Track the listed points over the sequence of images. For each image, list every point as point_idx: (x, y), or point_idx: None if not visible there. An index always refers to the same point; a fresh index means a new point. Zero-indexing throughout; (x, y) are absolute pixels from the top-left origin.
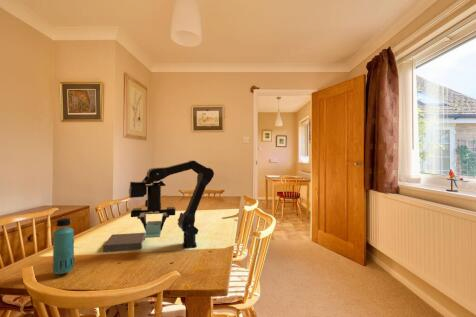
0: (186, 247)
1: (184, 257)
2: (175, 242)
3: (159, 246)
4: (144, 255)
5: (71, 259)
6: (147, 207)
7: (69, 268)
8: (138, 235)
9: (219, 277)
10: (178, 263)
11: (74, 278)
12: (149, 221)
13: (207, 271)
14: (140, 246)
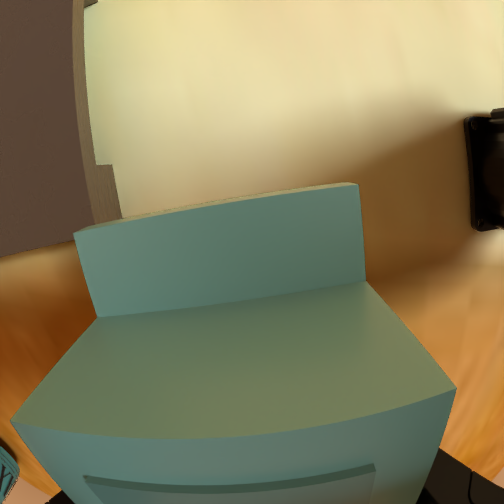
0: (491, 228)
1: (456, 377)
2: (401, 65)
3: (274, 153)
4: None
5: (5, 491)
6: None
7: (16, 475)
8: (28, 23)
9: (490, 473)
10: None
11: (53, 480)
12: (53, 443)
13: (482, 459)
14: None
